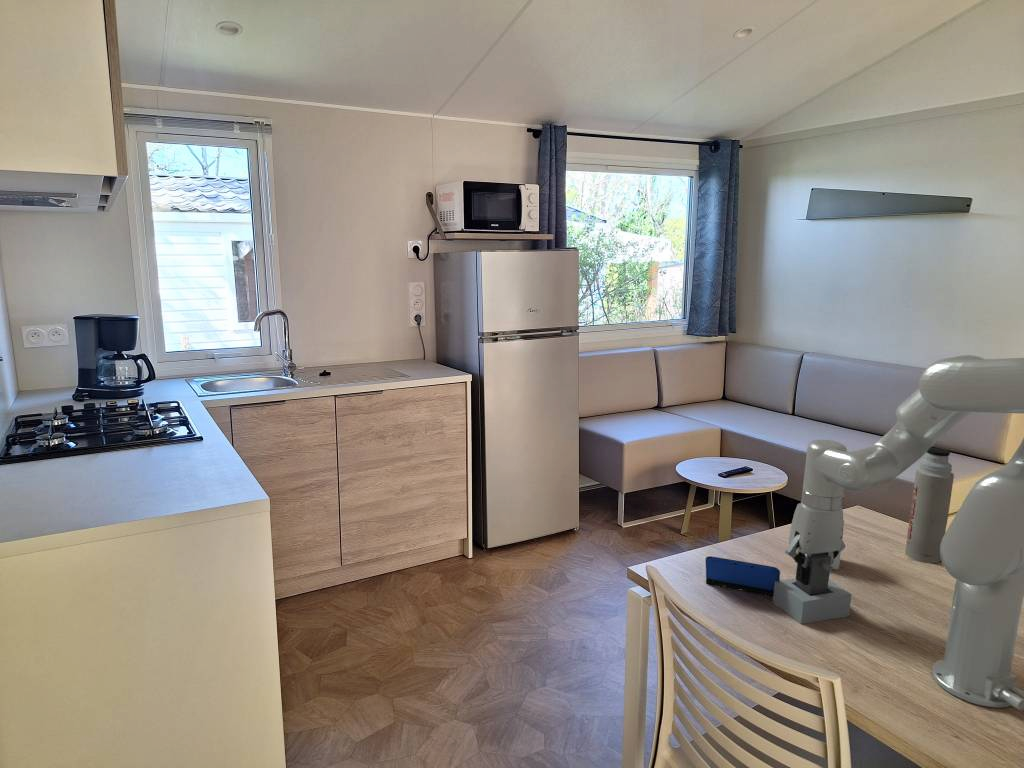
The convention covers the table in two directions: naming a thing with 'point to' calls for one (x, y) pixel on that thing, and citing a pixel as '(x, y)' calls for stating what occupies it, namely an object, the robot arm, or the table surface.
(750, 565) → the handheld game console
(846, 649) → the table surface
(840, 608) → the socket
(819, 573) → the plug
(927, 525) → the thermos bottle
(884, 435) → the robot arm
